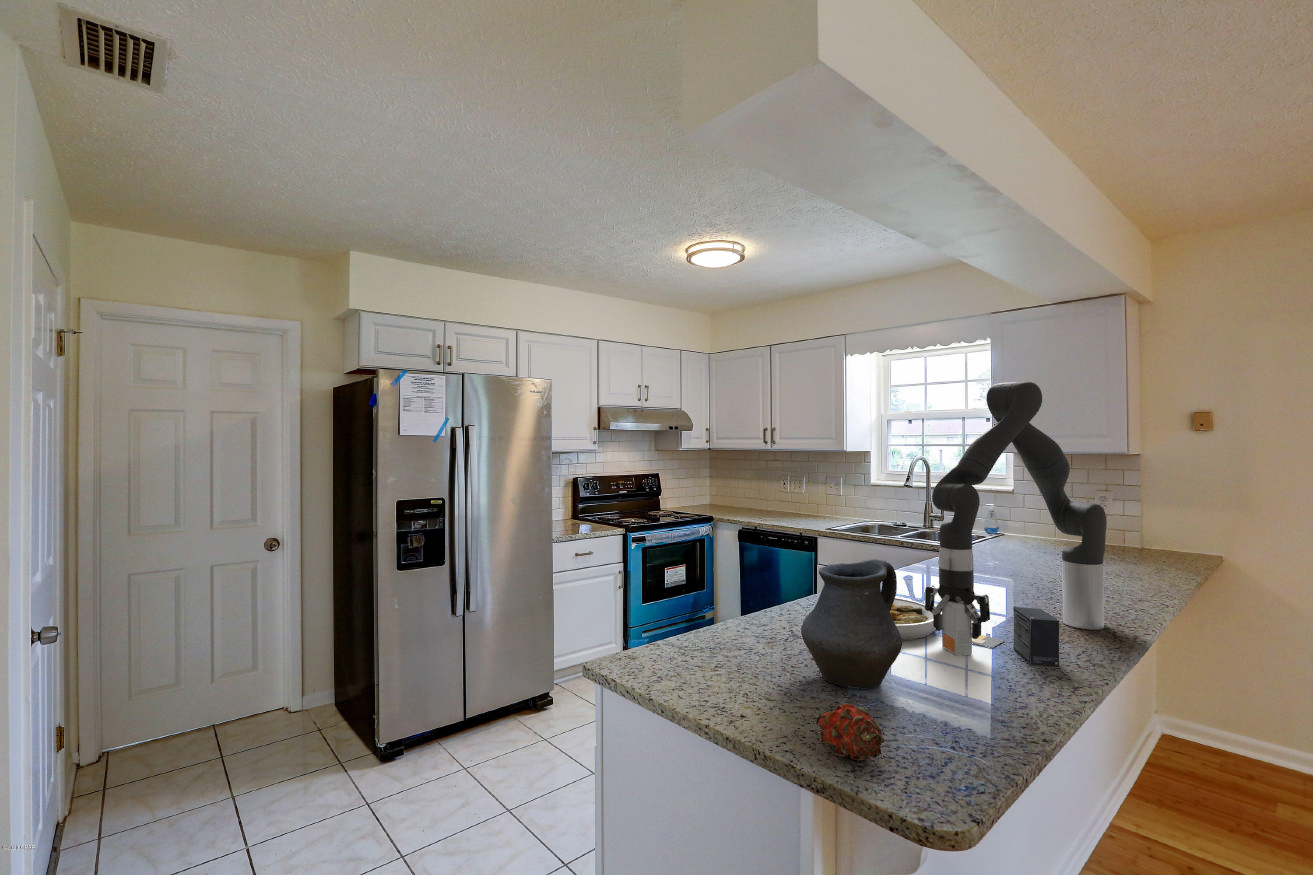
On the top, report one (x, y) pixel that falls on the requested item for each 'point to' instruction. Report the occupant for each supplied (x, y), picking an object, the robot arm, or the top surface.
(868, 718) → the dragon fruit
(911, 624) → the bowl
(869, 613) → the pitcher
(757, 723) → the top surface
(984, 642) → the card
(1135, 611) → the top surface
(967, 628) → the skincare box
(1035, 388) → the robot arm
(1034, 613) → the small box
